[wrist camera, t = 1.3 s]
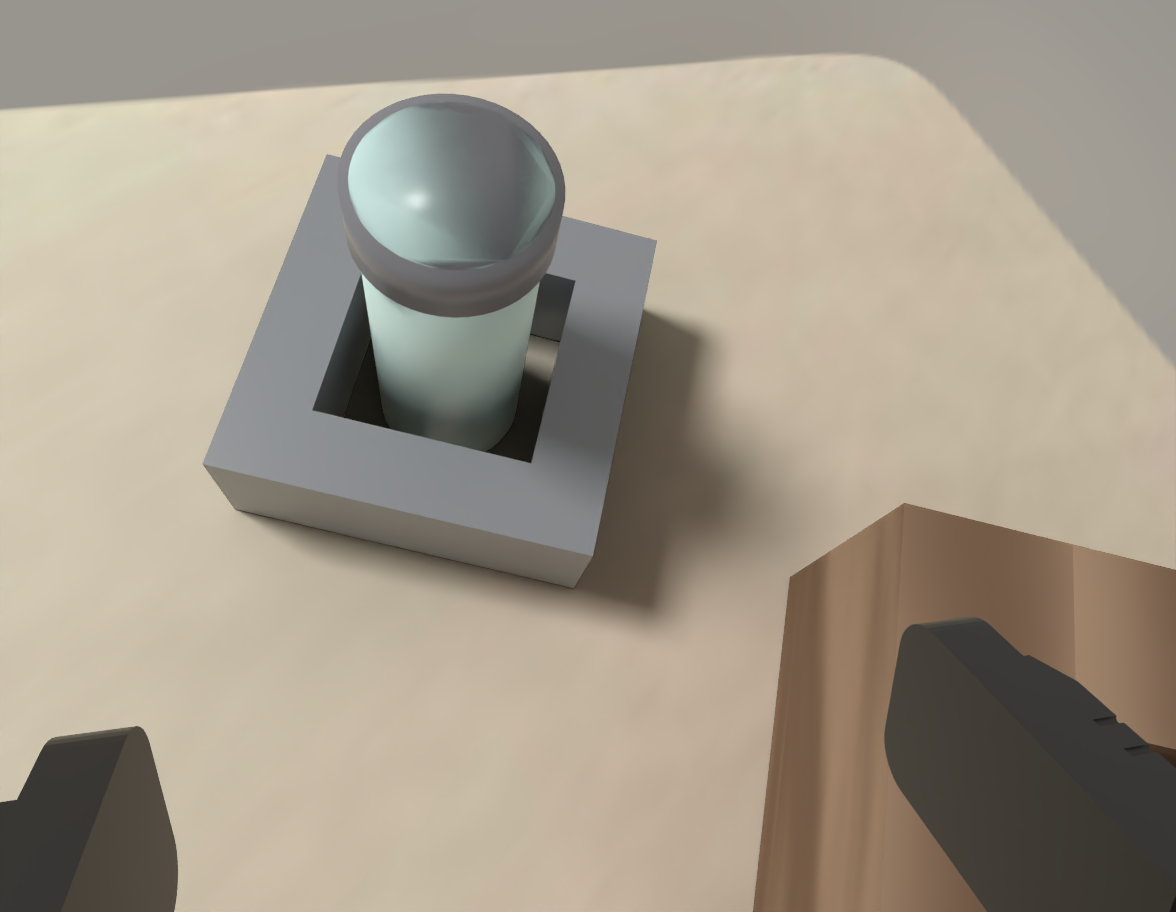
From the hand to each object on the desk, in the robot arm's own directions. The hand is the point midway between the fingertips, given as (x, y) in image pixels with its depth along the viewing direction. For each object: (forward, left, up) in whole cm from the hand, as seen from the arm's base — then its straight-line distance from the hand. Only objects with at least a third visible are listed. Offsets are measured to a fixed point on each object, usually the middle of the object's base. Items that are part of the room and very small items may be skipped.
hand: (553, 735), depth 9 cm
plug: (-4, +10, -14) cm, 18 cm away
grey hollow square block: (-4, +10, -14) cm, 18 cm away
